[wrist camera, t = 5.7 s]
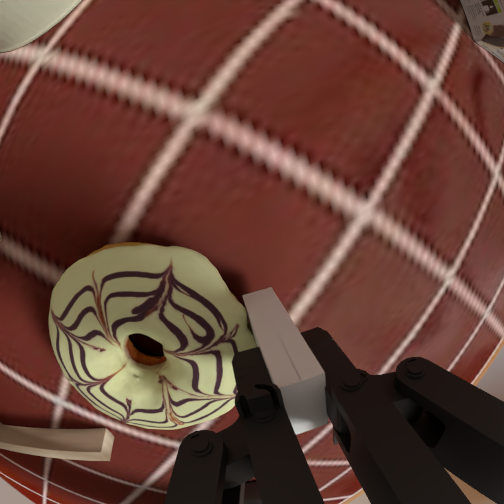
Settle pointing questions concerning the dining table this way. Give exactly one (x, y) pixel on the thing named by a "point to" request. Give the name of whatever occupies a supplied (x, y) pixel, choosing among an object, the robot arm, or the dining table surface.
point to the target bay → (58, 441)
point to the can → (29, 20)
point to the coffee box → (487, 24)
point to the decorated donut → (149, 334)
